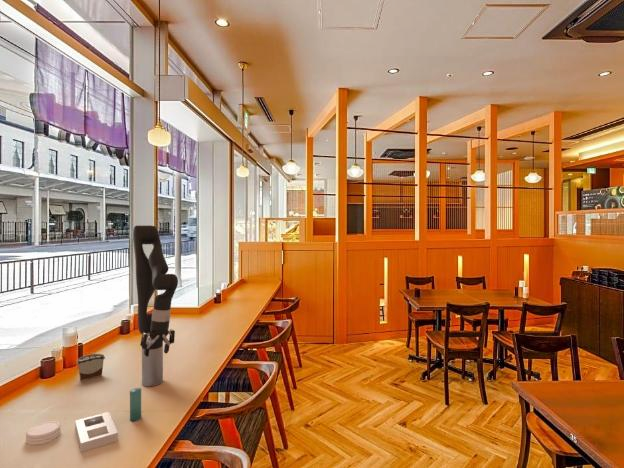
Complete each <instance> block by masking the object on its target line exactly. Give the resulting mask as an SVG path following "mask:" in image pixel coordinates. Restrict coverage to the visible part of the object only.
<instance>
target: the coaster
mask: <svg viewBox="0 0 624 468" xmlns="http://www.w3.org/2000/svg"><path fill="white" fill-rule="evenodd" d="M60 423H61V422H60ZM60 423H59V422H58V421H54V420H53V421H45V422H41V423H38V424H35V425H33V426H32V427H31V428H29V429H28V430H26V433H25V436H26V437H25V439H26V440H25V442H26V444H27V445H30V446H40V445H44V444H47V443H51V442H53V441H54V440H56V439H57V438H58V437H60V435H61V433H62V432H61V424H60Z"/></svg>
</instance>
